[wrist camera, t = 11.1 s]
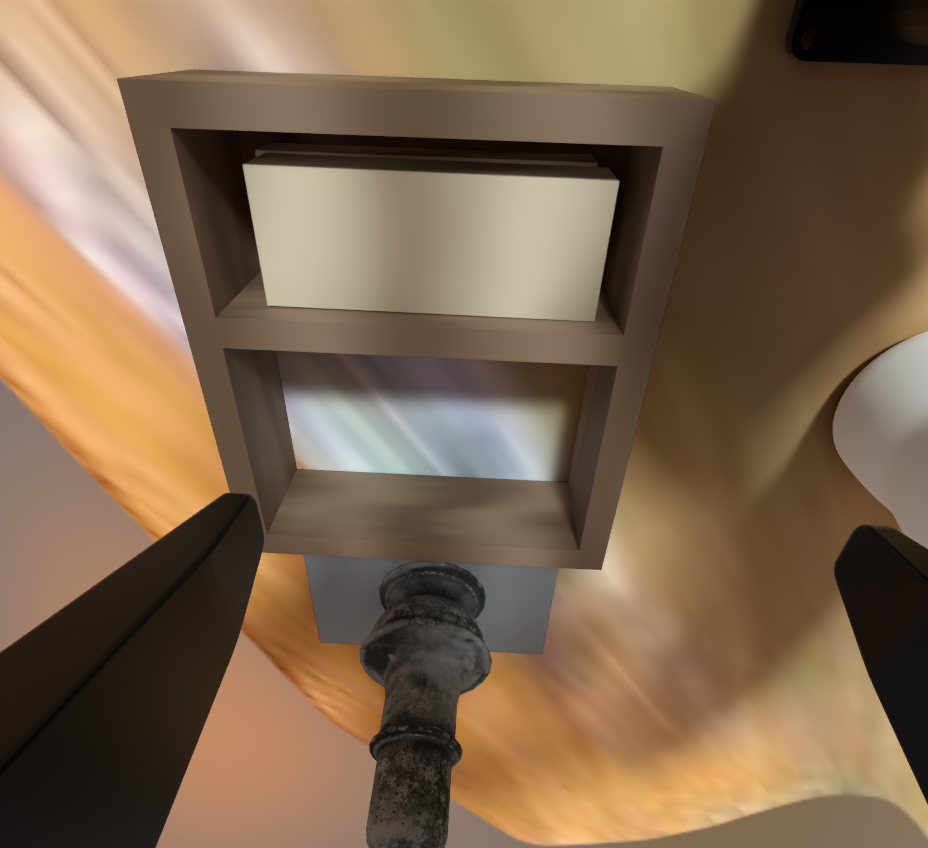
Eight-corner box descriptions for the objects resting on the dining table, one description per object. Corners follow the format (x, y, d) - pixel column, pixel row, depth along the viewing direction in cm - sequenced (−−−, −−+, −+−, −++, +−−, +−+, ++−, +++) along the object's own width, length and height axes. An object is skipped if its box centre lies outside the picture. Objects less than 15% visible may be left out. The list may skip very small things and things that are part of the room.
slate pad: (560, 527, 26) (562, 543, 26) (540, 638, 31) (542, 654, 30) (304, 514, 27) (298, 529, 26) (324, 626, 32) (320, 642, 31)
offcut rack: (671, 87, 16) (716, 100, 13) (587, 500, 25) (601, 569, 22) (191, 69, 17) (117, 78, 13) (277, 485, 26) (246, 551, 22)
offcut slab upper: (607, 167, 16) (619, 181, 15) (586, 298, 19) (594, 321, 17) (265, 152, 17) (242, 164, 15) (285, 284, 19) (267, 305, 17)
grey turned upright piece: (505, 623, 29) (511, 926, 19) (399, 640, 30) (353, 933, 20) (471, 545, 26) (458, 860, 16) (354, 567, 27) (274, 873, 17)
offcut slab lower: (589, 152, 18) (597, 162, 16) (572, 276, 20) (578, 294, 19) (274, 141, 18) (254, 149, 17) (292, 264, 20) (276, 282, 19)
